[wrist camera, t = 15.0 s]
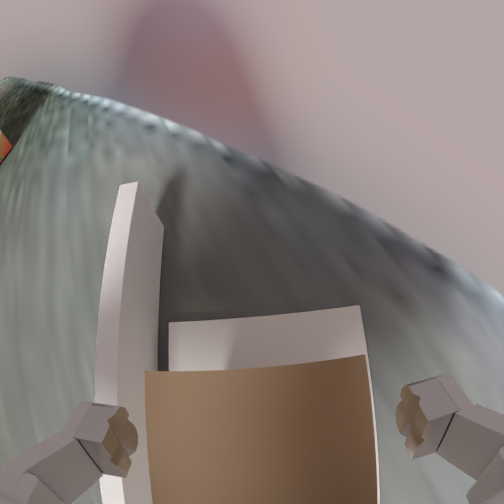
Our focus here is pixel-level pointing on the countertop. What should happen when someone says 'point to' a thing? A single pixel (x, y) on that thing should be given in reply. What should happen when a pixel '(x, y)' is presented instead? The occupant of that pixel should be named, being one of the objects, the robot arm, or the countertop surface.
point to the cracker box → (4, 146)
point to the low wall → (129, 330)
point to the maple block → (262, 435)
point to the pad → (270, 343)
